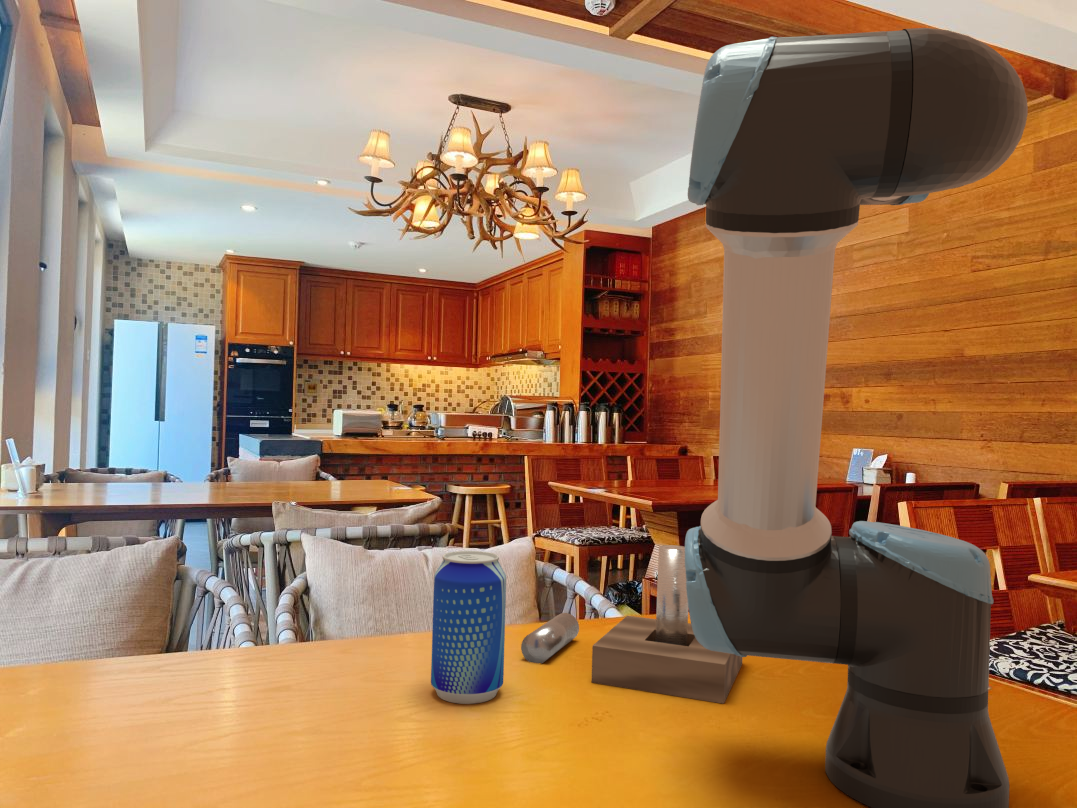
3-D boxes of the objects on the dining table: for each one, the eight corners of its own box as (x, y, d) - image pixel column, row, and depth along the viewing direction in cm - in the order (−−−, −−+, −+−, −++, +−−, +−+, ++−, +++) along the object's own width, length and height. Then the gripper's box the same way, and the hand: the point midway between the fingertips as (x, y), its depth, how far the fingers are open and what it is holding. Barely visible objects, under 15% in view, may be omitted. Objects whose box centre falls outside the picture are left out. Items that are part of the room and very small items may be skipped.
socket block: (723, 703, 92) (724, 664, 92) (591, 682, 98) (592, 645, 98) (742, 663, 107) (743, 630, 107) (626, 647, 113) (627, 615, 113)
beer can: (507, 683, 97) (511, 551, 97) (497, 708, 89) (501, 564, 89) (439, 678, 98) (443, 548, 98) (422, 703, 90) (427, 560, 90)
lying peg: (541, 628, 105) (516, 640, 106) (554, 657, 104) (529, 668, 106) (571, 608, 116) (548, 619, 117) (583, 634, 115) (560, 644, 117)
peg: (682, 679, 100) (687, 552, 100) (651, 674, 102) (655, 548, 102) (688, 670, 104) (693, 547, 104) (658, 665, 105) (662, 544, 105)
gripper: (782, 250, 95) (777, 429, 95) (797, 282, 118) (793, 426, 118) (718, 253, 98) (713, 426, 98) (745, 284, 121) (741, 424, 121)
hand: (757, 427), depth 108 cm, fingers open, 13 cm apart
